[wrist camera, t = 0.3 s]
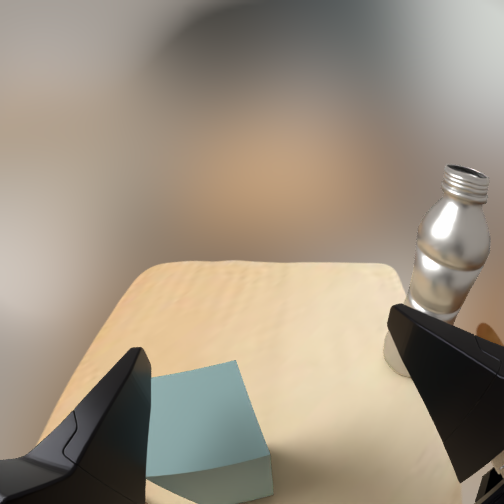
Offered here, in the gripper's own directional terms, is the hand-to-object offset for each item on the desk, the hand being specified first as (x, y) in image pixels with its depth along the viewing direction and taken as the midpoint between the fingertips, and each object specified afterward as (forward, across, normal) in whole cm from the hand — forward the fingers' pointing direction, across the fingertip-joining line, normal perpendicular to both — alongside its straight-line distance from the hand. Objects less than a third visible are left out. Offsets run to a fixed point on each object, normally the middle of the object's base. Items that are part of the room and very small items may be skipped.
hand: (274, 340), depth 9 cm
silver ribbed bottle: (+8, -16, +16) cm, 24 cm away
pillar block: (+1, +4, +16) cm, 17 cm away
